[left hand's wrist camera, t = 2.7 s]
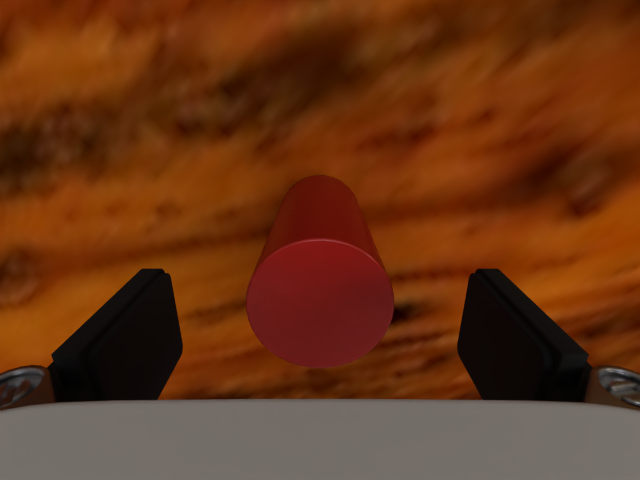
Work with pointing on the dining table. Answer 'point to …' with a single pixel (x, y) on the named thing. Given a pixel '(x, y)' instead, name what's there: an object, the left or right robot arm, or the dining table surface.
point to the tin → (319, 279)
